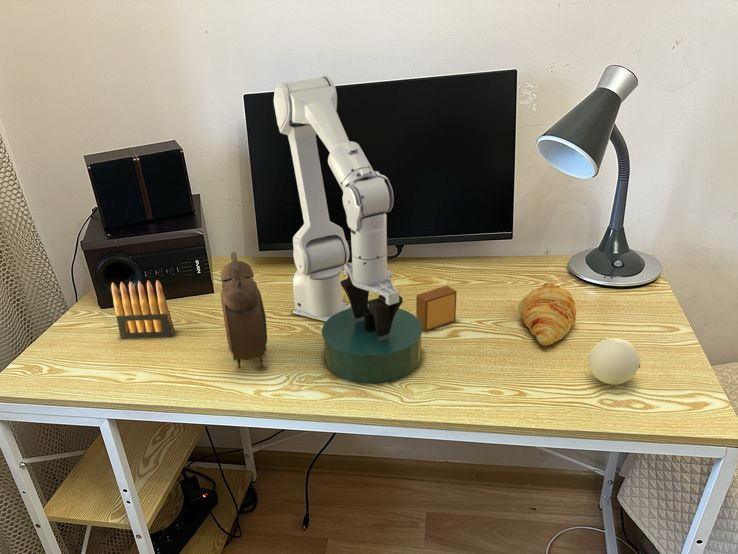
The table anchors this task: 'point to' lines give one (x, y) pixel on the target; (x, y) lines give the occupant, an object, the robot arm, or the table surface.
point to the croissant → (548, 313)
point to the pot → (373, 365)
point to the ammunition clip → (142, 312)
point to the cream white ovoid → (614, 361)
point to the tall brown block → (436, 307)
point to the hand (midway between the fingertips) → (371, 325)
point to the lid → (370, 334)
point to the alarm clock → (243, 312)
